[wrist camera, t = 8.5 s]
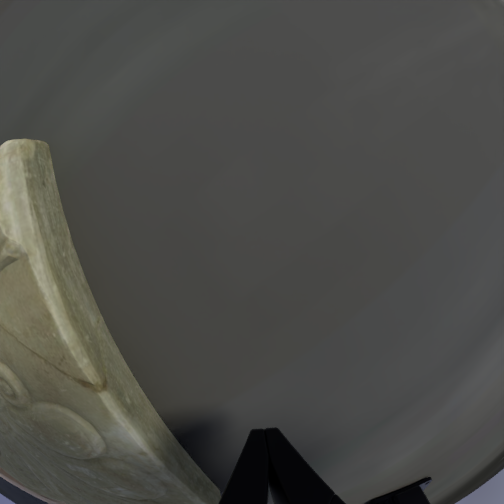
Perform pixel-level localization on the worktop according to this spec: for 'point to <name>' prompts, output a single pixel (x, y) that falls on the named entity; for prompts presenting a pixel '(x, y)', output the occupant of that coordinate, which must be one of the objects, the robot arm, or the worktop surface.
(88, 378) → the decorative tile
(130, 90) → the worktop surface
